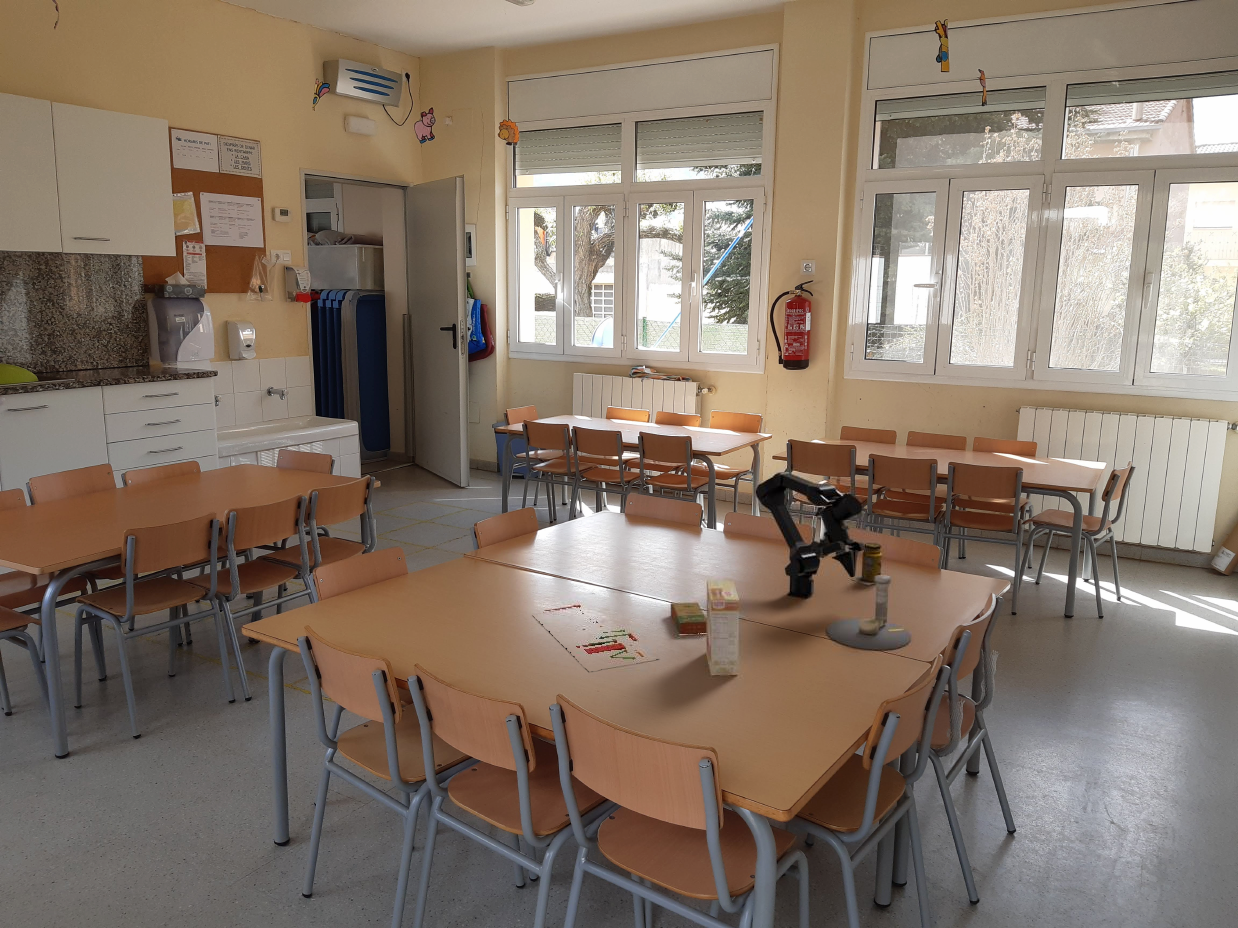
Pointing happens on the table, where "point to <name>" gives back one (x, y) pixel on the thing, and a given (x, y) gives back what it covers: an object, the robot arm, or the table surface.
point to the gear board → (607, 647)
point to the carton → (688, 618)
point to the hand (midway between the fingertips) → (853, 576)
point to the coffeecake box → (722, 627)
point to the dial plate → (868, 635)
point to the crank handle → (877, 607)
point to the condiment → (870, 563)
